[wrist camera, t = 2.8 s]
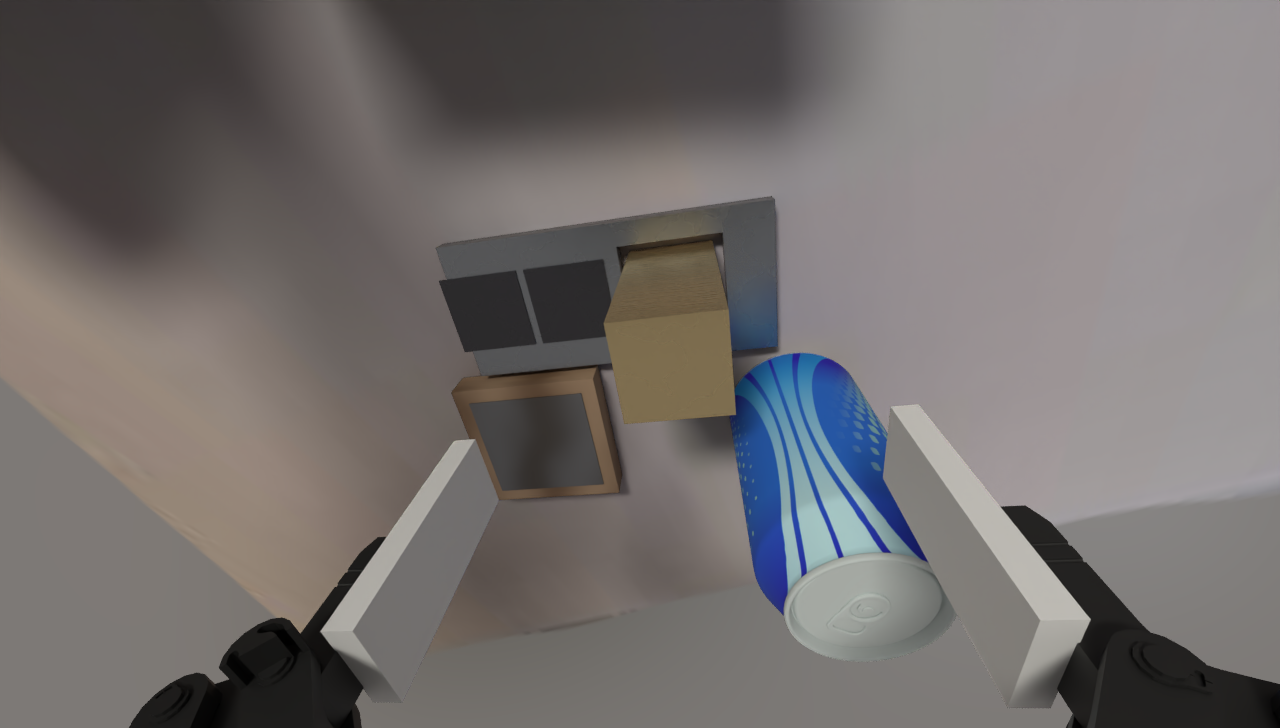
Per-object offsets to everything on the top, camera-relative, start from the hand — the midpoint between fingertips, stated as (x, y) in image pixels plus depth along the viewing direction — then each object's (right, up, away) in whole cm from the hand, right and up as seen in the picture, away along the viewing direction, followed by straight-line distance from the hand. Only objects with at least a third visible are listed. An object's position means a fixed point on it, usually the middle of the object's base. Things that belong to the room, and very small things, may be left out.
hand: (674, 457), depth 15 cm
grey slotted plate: (-3, +8, +15) cm, 17 cm away
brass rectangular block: (+1, +8, +14) cm, 16 cm away
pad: (-8, -2, +20) cm, 22 cm away
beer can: (+9, +1, +18) cm, 20 cm away
